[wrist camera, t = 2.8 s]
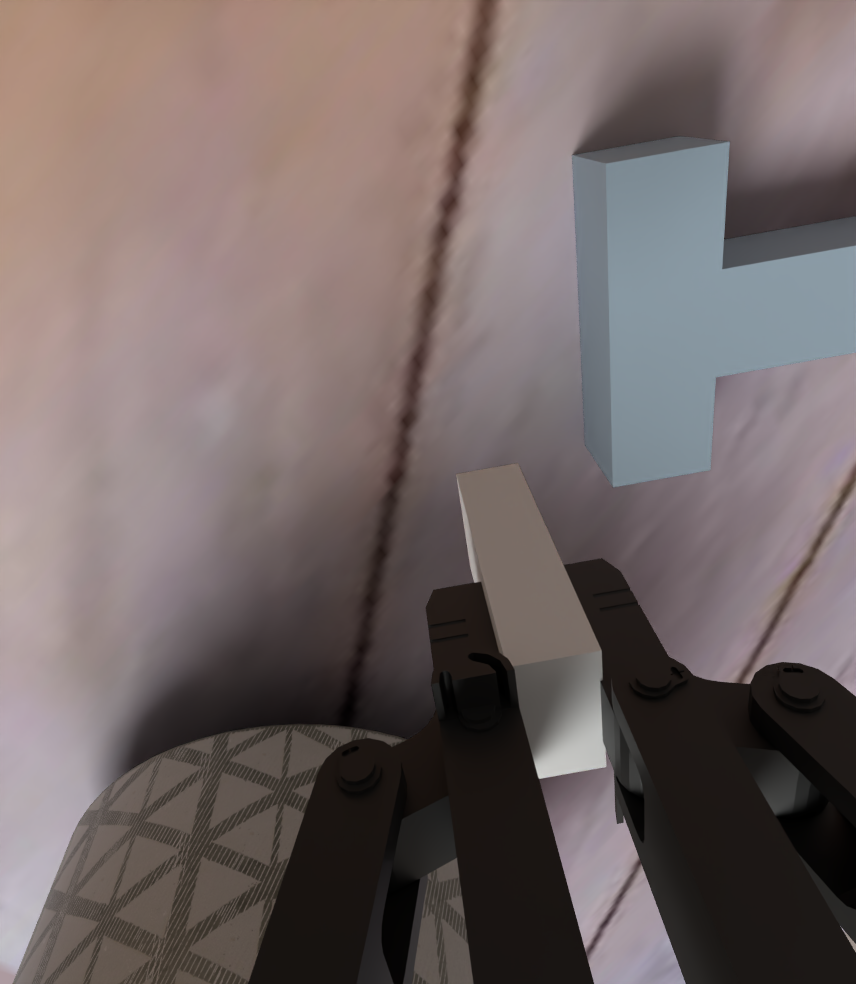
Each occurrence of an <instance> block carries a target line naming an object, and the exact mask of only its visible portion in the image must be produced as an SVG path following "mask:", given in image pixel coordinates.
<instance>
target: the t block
mask: <svg viewBox="0 0 856 984" xmlns="http://www.w3.org/2000/svg"><path fill="white" fill-rule="evenodd" d="M729 146H730V142H729V141H720V140H711V139H701V138H692V137H683V136H677V137H671V138H666V139H660V140H654V141H649V142H643V143H638V144H632V145H626V146H621V147H615V148H609V149H604V150H598V151H593V152H587V153H581V154H576V155H572V164H573V187H574V210H575V233H576V255H577V278H578V301H579V324H580V346H581V369H582V392H583V415H584V437H585V446H586V448H587V449H588V451H589V452H590V454H591V455H592V457H593V458H594V460H595V461H596V463H597V464H598V466H599V467H600V469H601V470H602V472H603V473H604V475H605V476H606V478H607V479H608V481H609V482H610V484H611V485H612V487H619V486H624V485H630V484H636V483H641V482H647V481H652V480H658V479H664V478H669V477H675V476H680V475H686V474H692V473H697V472H703V471H709V470H710V467H711V451H712V434H713V417H714V400H715V383H716V377H721V376H727V375H733V374H738V373H744V372H749V371H755V370H761V369H766V368H772V367H777V366H783V365H789V364H794V363H800V362H805V361H811V360H817V359H822V358H828V357H834V356H839V355H845V354H850V353H856V216H853V217H848V218H842V219H837V220H831V221H825V222H820V223H814V224H809V225H803V226H797V227H792V228H786V229H781V230H775V231H769V232H764V233H758V234H753V235H747V236H741V237H736V238H730V239H725V240H724V230H725V213H726V197H727V180H728V163H729Z"/></svg>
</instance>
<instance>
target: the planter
mask: <svg viewBox="0 0 856 984" xmlns="http://www.w3.org/2000/svg"><path fill="white" fill-rule="evenodd" d="M366 738H371V739H376V740H381V741H384V742H386V743H387V744H388V745H390V746H391V747H393V746H395V745H397V744H399V743H402V742H404V741H406V740H408V739H405V738H402V737H399V736H394V735H390V734H386V733H382V732H378V731H373V730H367V729H361V728H355V727H347V726H336V725H324V724H287V725H270V726H261V727H252V728H245V729H240V730H234V731H229V732H223V733H219V734H216V735H212V736H208V737H204V738H200V739H197V740H194V741H191V742H188V743H185V744H183V745H180V746H177V747H174V748H172V749H170V750H167V751H165V752H163V753H161V754H158V755H156V756H154V757H152V758H150V759H148V760H147V761H145V762H143V763H141V764H139V765H138V766H136V767H134V768H133V769H131V770H130V771H128V772H127V773H125V774H124V775H122V776H121V777H120V778H118V779H117V780H116V781H115V782H113V783H112V784H111V785H110V786H109V787H108V788H106V789H105V790H104V791H103V792H102V793H101V794H100V795H99V796H98V798H97V799H96V800H95V801H94V802H93V803H92V804H91V805H90V807H89V808H88V809H87V811H86V812H85V814H84V815H83V817H82V818H81V819H80V821H79V823H78V825H77V827H76V829H75V831H74V833H73V835H72V837H71V840H70V842H69V845H68V847H67V850H66V852H65V855H64V857H63V860H62V862H61V865H60V867H59V870H58V872H57V875H56V877H55V880H54V882H53V885H52V887H51V890H50V892H49V895H48V897H47V900H46V902H45V904H44V907H43V909H42V912H41V914H40V917H39V919H38V922H37V924H36V927H35V929H34V932H33V934H32V937H31V939H30V942H29V944H28V947H27V949H26V952H25V954H24V957H23V959H22V962H21V964H20V967H19V969H18V972H17V974H16V977H15V979H14V982H13V984H248V982H249V979H250V976H251V973H252V970H253V967H254V964H255V961H256V958H257V955H258V952H259V949H260V946H261V943H262V940H263V937H264V934H265V931H266V928H267V925H268V922H269V919H270V916H271V913H272V910H273V907H274V904H275V901H276V898H277V895H278V892H279V889H280V886H281V883H282V880H283V877H284V874H285V871H286V868H287V865H288V862H289V859H290V856H291V853H292V850H293V847H294V844H295V841H296V838H297V835H298V832H299V829H300V826H301V823H302V820H303V817H304V814H305V810H306V807H307V804H308V801H309V798H310V795H311V792H312V789H313V786H314V783H315V780H316V777H317V774H318V772H319V770H320V768H321V766H322V764H323V763H324V761H325V759H326V758H327V757H328V756H329V755H330V754H331V753H332V752H334V751H335V750H336V749H337V748H338V747H340V746H342V745H344V744H346V743H349V742H351V741H353V740H359V739H366ZM412 984H473V977H472V969H471V962H470V954H469V946H468V939H467V931H466V924H465V916H464V908H463V901H462V893H461V886H460V878H459V870H458V863H457V858H456V859H454V860H453V861H451V862H449V863H447V864H445V865H443V866H442V867H440V868H438V869H436V870H434V871H433V872H431V873H429V874H428V880H427V886H426V893H425V900H424V906H423V913H422V919H421V926H420V933H419V939H418V946H417V952H416V959H415V966H414V972H413V979H412Z"/></svg>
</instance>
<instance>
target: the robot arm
mask: <svg viewBox="0 0 856 984" xmlns="http://www.w3.org/2000/svg"><path fill="white" fill-rule="evenodd" d="M456 477H457V483H458V490H459V496H460V503H461V509H462V516H463V523H464V529H465V536H466V542H467V549H468V555H469V562H470V568H471V572H472V576H473V580H474V583H470V584H464V585H459V586H453V587H447V588H442V589H436V590H433V592H432V595H431V597H430V599H429V601H428V604H427V606H426V613H427V621H428V628H429V636H430V643H431V651H432V659H433V667H434V671H433V674H432V682H431V686H432V691H433V696H434V701H435V705H436V711H435V714H434V716H433V718H432V719H431V721H430V722H429V724H428V725H427V726H426V727H425V728H424V729H423V730H421V731H420V732H419V733H418V734H416V735H414V736H413V737H411V738H410V739H408V740H406V741H404V742H402V743H399V744H397V745H395V746H393V747H391V746H390V745H388V744H387V743H386V742H384V741H381V740H376V739H371V738H366V739H359V740H353V741H351V742H349V743H346V744H344V745H342V746H340V747H338V748H337V749H336V750H335V751H334V752H332V753H331V754H330V755H329V756H328V757H327V758H326V759H325V761H324V763H323V764H322V766H321V768H320V770H319V772H318V774H317V777H316V780H315V783H314V786H313V789H312V792H311V795H310V798H309V801H308V804H307V807H306V810H305V814H304V817H303V820H302V823H301V826H300V829H299V832H298V835H297V838H296V841H295V844H294V847H293V850H292V853H291V856H290V859H289V862H288V865H287V868H286V871H285V874H284V877H283V880H282V883H281V886H280V889H279V892H278V895H277V898H276V901H275V904H274V907H273V910H272V913H271V916H270V919H269V922H268V925H267V928H266V931H265V934H264V937H263V940H262V943H261V946H260V949H259V952H258V955H257V958H256V961H255V964H254V967H253V970H252V973H251V976H250V979H249V982H248V984H412V979H413V972H414V966H415V959H416V952H417V946H418V939H419V933H420V926H421V919H422V913H423V906H424V900H425V893H426V886H427V880H428V874H429V873H431V872H433V871H434V870H436V869H438V868H440V867H442V866H443V865H445V864H447V863H449V862H451V861H453V860H454V859H456V858H457V863H458V870H459V878H460V886H461V893H462V901H463V908H464V916H465V924H466V931H467V939H468V946H469V954H470V962H471V969H472V977H473V984H594V982H593V978H592V974H591V970H590V967H589V963H588V959H587V956H586V952H585V948H584V945H583V941H582V937H581V933H580V930H579V926H578V922H577V919H576V915H575V911H574V908H573V904H572V900H571V896H570V893H569V889H568V885H567V882H566V878H565V874H564V871H563V867H562V863H561V859H560V856H559V852H558V848H557V845H556V841H555V837H554V833H553V830H552V826H551V822H550V819H549V815H548V811H547V808H546V804H545V800H544V796H543V793H542V789H541V785H540V782H539V779H542V778H547V777H553V776H558V775H564V774H570V773H575V772H581V771H587V770H592V769H598V768H603V767H606V751H607V753H608V756H609V759H610V761H611V764H612V766H613V769H614V782H615V812H616V819H617V824H619V823H624V822H623V815H624V818H625V820H626V823H627V826H628V828H629V831H630V834H631V836H632V839H633V842H634V845H635V847H636V850H637V853H638V855H639V858H640V861H641V864H642V866H643V869H644V872H645V874H646V877H647V880H648V882H649V885H650V888H651V891H652V893H653V896H654V899H655V901H656V904H657V907H658V909H659V912H660V915H661V918H662V920H663V923H664V926H665V928H666V931H667V934H668V936H669V939H670V942H671V945H672V947H673V950H674V953H675V955H676V958H677V961H678V964H679V966H680V969H681V972H682V974H683V977H684V980H685V982H686V984H856V952H855V951H854V949H853V947H852V946H851V944H850V942H849V940H848V939H847V937H846V935H845V933H844V932H843V930H842V928H843V929H844V931H845V932H846V933H847V934H848V935H849V936H850V938H851V939H852V940H853V941H854V942H855V943H856V696H854V695H853V694H852V693H851V692H850V691H848V690H847V689H846V688H845V687H843V686H842V685H841V684H840V683H838V682H837V681H836V680H835V679H833V678H832V677H830V676H828V675H827V674H825V673H823V672H822V671H820V670H819V669H816V668H813V667H810V666H806V665H803V664H800V663H786V662H781V663H776V664H771V665H766V666H765V667H763V668H762V669H760V670H759V671H757V672H756V673H755V675H754V677H753V679H752V681H751V683H750V684H740V683H727V682H717V681H711V680H705V679H702V678H699V677H696V676H694V675H693V674H692V673H691V672H690V671H689V670H688V669H687V668H686V667H685V666H684V665H683V664H681V663H679V662H678V661H676V660H674V659H672V658H670V657H669V656H668V655H667V653H666V651H665V650H664V648H663V646H662V644H661V642H660V641H659V639H658V637H657V635H656V634H655V632H654V630H653V628H652V626H651V625H650V623H649V621H648V619H647V618H646V616H645V614H644V612H643V611H642V609H641V607H640V605H638V602H637V600H636V598H635V596H634V595H633V593H632V591H630V587H629V586H628V584H627V582H626V580H625V579H624V577H623V575H622V573H621V572H620V571H619V570H618V569H616V568H615V567H614V566H612V565H611V564H609V563H608V562H607V561H605V560H604V559H602V558H601V559H596V560H590V561H584V562H579V563H573V564H568V565H563V563H562V561H561V559H560V556H559V554H558V552H557V550H556V547H555V545H554V543H553V541H552V538H551V536H550V534H549V532H548V529H547V527H546V525H545V523H544V520H543V518H542V516H541V514H540V511H539V509H538V507H537V505H536V503H535V500H534V498H533V496H532V494H531V491H530V489H529V487H528V485H527V482H526V480H525V478H524V476H523V473H522V471H521V469H520V467H519V464H518V463H515V464H510V465H504V466H499V467H493V468H487V469H482V470H476V471H471V472H465V473H459V474H456ZM840 926H841V927H842V928H841V927H840Z"/></svg>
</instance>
